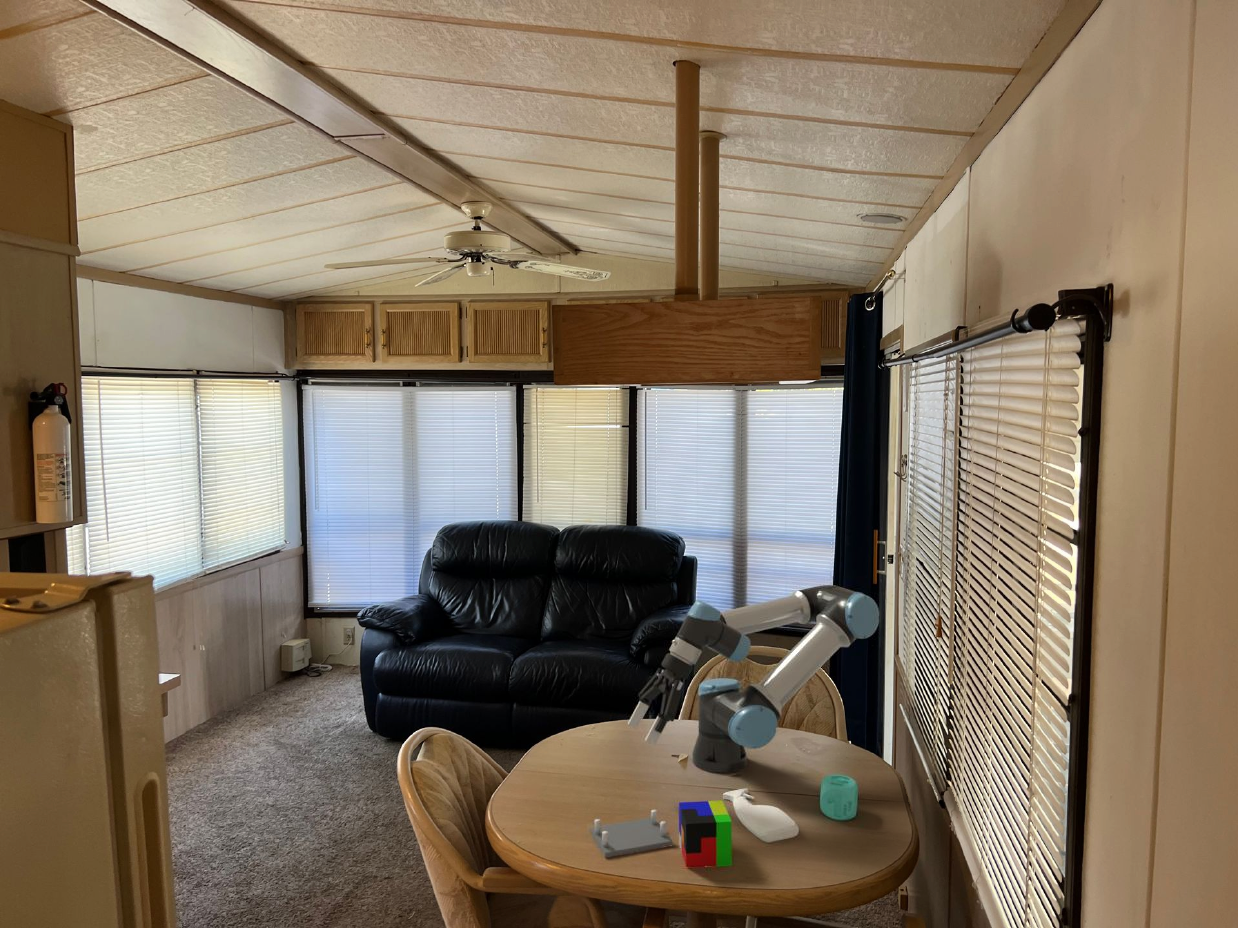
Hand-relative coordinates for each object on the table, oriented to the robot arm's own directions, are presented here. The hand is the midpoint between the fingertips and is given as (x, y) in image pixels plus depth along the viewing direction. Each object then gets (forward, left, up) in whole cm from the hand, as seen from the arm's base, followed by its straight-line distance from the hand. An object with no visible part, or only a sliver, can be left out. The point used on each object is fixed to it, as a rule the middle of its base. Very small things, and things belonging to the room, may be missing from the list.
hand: (640, 734), depth 217 cm
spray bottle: (-24, +16, -18) cm, 34 cm away
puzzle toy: (-5, +29, -18) cm, 34 cm away
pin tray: (+9, +17, -17) cm, 26 cm away
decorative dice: (-44, +21, -18) cm, 52 cm away
